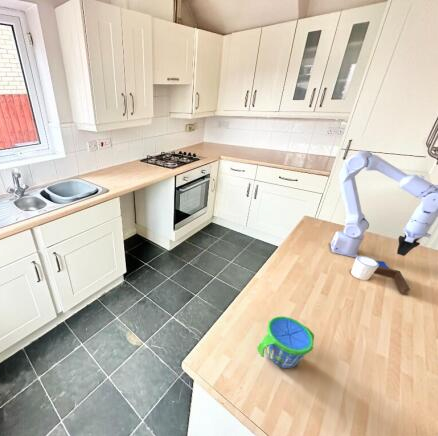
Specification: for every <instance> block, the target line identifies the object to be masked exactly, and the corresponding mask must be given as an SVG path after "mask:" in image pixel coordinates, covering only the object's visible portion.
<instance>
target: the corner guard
mask: <svg viewBox="0 0 438 436" xmlns="http://www.w3.org/2000/svg"><path fill="white" fill-rule="evenodd" d="M373 274H375V275H380V276H384V277H389V278H392V279H393V280H394V282H395V284H396V286H397V288H398V290H399V291H400V294H401V295H404V296H406V295H407V294H408V293H409V292H410V290H411V287H410V286H409V284H408V283H407V281H406V280H405V278H404V276H403V274H402V272H401V271H400V270H397V269H393V268H390V267H388V268H384V267H380V266H378V268H377V269H376V270H375V272H374V273H373Z"/></svg>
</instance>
